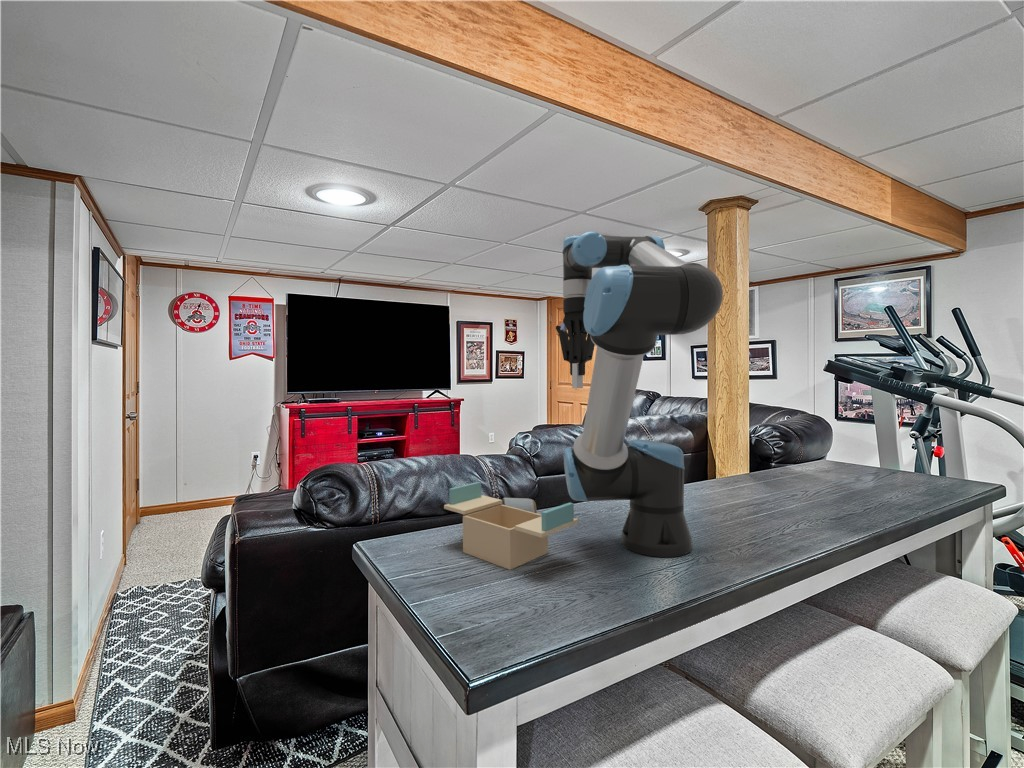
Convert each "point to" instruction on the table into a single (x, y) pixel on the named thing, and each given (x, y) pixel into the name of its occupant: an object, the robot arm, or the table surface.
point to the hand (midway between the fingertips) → (577, 388)
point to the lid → (469, 499)
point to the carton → (501, 536)
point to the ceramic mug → (520, 504)
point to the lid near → (550, 521)
